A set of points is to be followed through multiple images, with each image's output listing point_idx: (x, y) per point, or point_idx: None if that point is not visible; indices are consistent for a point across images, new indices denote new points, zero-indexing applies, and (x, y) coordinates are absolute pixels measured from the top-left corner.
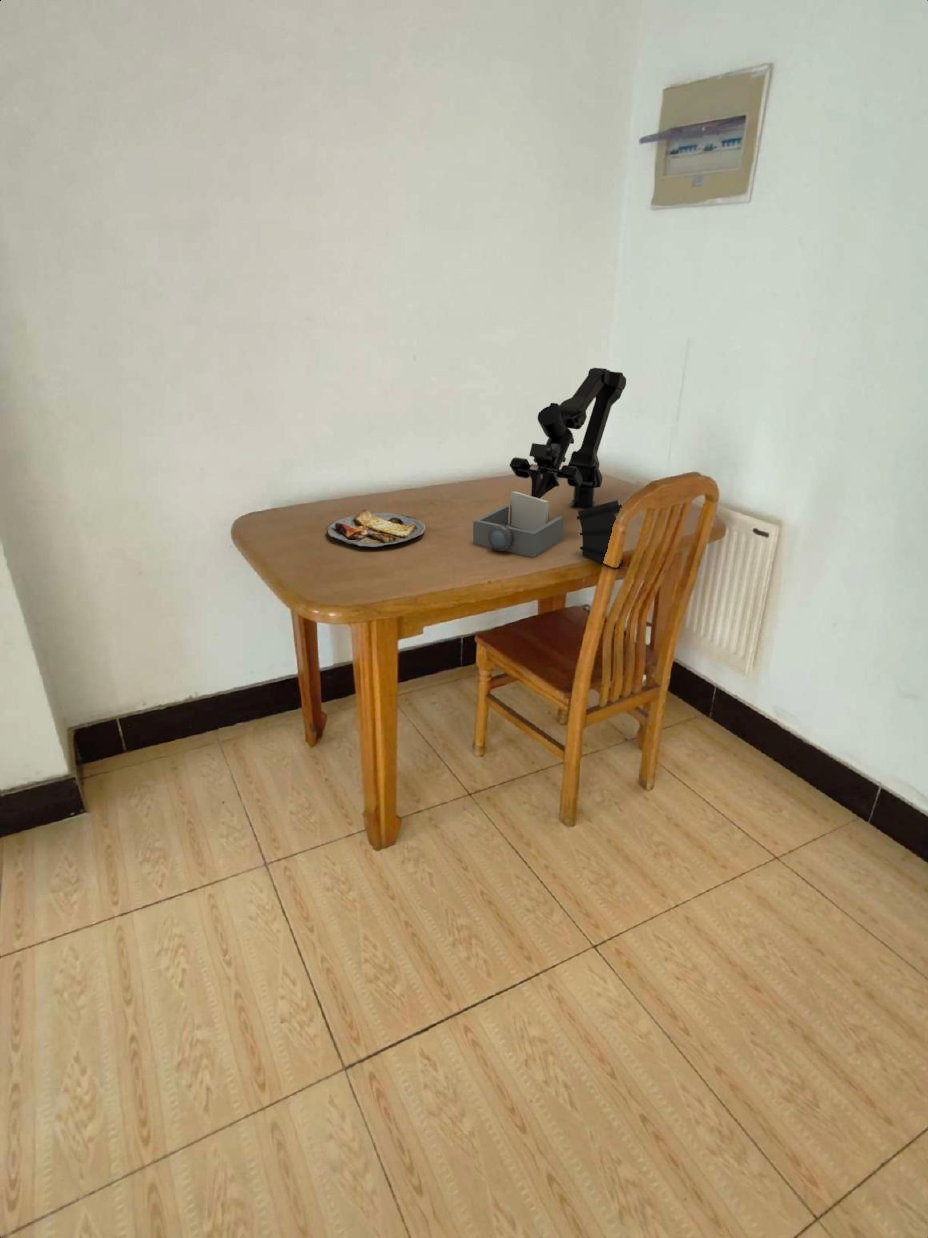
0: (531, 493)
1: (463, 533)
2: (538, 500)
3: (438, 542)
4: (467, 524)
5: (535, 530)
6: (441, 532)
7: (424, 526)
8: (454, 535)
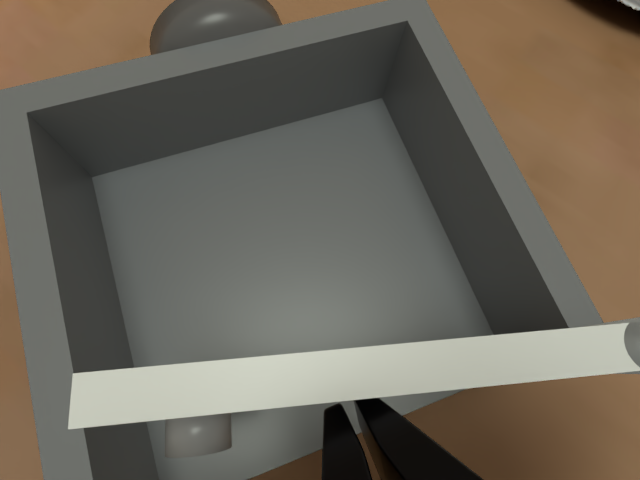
0: (412, 426)
1: (527, 131)
2: (206, 363)
3: (478, 3)
4: (637, 219)
5: (24, 141)
6: (581, 72)
7: (630, 3)
8: (522, 89)
